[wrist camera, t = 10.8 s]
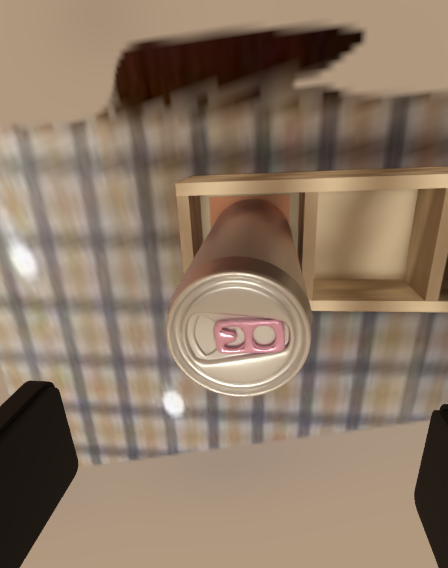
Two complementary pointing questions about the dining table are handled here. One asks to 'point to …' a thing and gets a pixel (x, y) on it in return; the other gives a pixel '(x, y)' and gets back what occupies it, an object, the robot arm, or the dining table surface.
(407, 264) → the rack
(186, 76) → the dining table surface
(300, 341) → the beverage can
